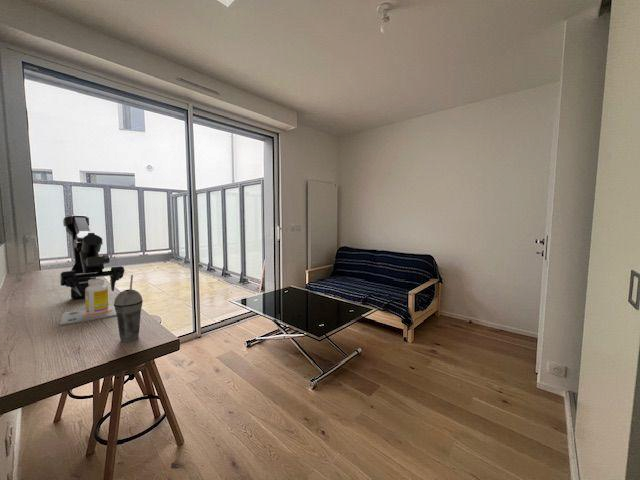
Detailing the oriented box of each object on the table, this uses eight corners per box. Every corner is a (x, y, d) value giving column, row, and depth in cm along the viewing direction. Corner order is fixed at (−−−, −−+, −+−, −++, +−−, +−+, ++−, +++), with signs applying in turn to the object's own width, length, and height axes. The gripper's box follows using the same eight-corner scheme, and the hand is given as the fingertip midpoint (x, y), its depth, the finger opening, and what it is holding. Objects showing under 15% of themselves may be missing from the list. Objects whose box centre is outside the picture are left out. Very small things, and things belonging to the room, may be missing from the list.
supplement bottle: (112, 308, 103) (111, 277, 102) (100, 314, 96) (99, 281, 95) (93, 309, 102) (93, 277, 101) (81, 315, 95) (79, 281, 94)
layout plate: (116, 305, 108) (116, 304, 108) (118, 315, 98) (118, 313, 98) (63, 314, 97) (63, 312, 97) (59, 326, 87) (59, 324, 87)
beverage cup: (109, 341, 77) (106, 276, 76) (134, 332, 84) (132, 272, 83) (124, 346, 74) (122, 279, 73) (149, 336, 81) (147, 274, 80)
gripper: (59, 250, 92) (65, 285, 86) (122, 247, 107) (131, 277, 101) (57, 268, 98) (63, 302, 92) (118, 263, 112) (126, 292, 106)
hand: (97, 292), depth 97 cm, fingers open, 9 cm apart
